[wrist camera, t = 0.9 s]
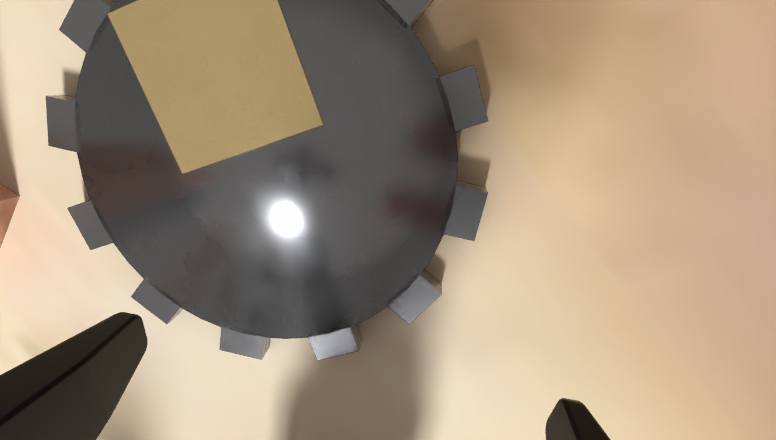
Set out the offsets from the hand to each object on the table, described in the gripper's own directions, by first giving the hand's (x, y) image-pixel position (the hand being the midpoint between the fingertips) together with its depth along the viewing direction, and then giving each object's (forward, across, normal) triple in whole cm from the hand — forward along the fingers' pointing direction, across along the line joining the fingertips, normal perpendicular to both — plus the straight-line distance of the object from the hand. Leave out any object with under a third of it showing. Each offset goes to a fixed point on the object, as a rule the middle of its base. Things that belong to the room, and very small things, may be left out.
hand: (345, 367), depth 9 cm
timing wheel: (+14, +7, +3) cm, 16 cm away
